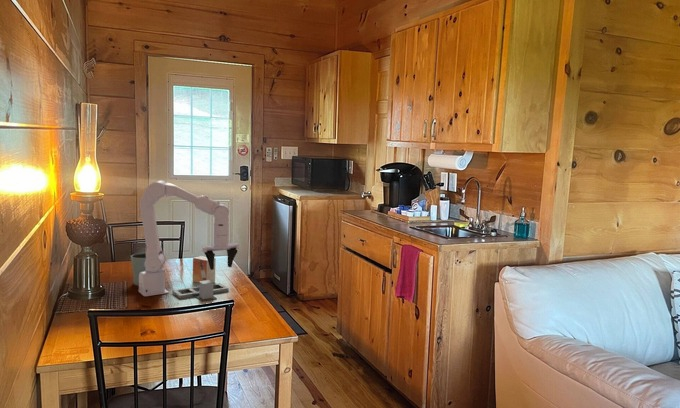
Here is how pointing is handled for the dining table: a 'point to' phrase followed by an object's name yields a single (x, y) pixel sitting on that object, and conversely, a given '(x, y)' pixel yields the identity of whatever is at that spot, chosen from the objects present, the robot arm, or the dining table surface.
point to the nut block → (206, 289)
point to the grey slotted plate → (193, 290)
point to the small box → (202, 269)
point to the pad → (205, 299)
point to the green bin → (138, 265)
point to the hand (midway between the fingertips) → (220, 267)
